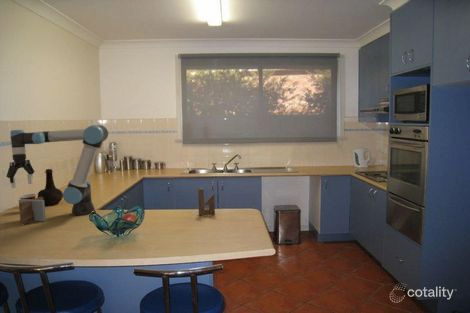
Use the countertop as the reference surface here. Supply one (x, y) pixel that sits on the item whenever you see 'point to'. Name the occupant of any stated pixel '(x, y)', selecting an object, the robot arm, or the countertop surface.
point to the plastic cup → (28, 196)
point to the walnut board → (27, 211)
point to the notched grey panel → (37, 209)
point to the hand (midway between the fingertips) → (22, 185)
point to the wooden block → (206, 203)
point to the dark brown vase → (50, 190)
